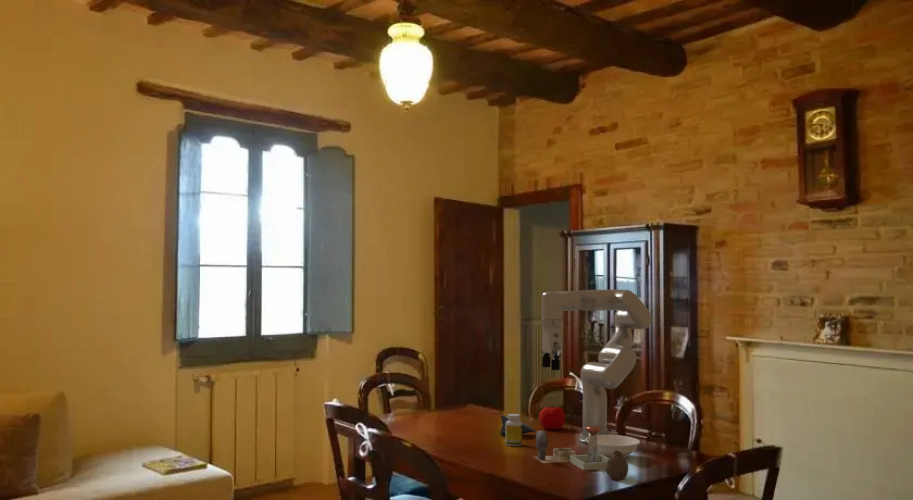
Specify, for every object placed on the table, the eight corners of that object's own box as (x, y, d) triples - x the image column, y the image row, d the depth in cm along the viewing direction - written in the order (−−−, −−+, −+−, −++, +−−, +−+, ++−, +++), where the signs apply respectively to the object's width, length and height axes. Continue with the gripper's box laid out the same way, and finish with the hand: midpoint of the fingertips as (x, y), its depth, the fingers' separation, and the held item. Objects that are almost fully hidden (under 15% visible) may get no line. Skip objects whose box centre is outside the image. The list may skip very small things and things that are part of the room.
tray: (601, 463, 275) (601, 454, 275) (616, 471, 263) (616, 462, 263) (569, 464, 272) (569, 455, 272) (583, 472, 260) (583, 463, 260)
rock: (494, 432, 328) (493, 432, 318) (501, 414, 329) (500, 413, 320) (529, 447, 325) (529, 447, 315) (536, 428, 326) (536, 427, 317)
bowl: (629, 466, 271) (629, 447, 271) (576, 458, 281) (576, 441, 282) (647, 456, 288) (647, 438, 288) (597, 449, 298) (597, 432, 298)
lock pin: (596, 464, 270) (596, 425, 271) (601, 467, 266) (602, 428, 266) (583, 464, 269) (584, 426, 270) (589, 467, 265) (589, 428, 265)
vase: (604, 480, 252) (605, 452, 252) (608, 475, 258) (608, 448, 258) (626, 482, 249) (626, 454, 249) (629, 477, 256) (629, 450, 256)
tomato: (571, 429, 337) (571, 405, 338) (549, 432, 330) (549, 408, 331) (554, 425, 347) (554, 402, 347) (532, 428, 339) (532, 404, 340)
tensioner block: (569, 457, 283) (569, 427, 283) (580, 464, 273) (580, 432, 273) (532, 459, 279) (533, 428, 280) (542, 465, 270) (542, 433, 270)
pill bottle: (520, 447, 300) (521, 416, 300) (504, 446, 301) (504, 415, 302) (522, 443, 306) (523, 413, 307) (506, 442, 308) (506, 413, 308)
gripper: (569, 325, 293) (568, 371, 293) (552, 322, 310) (551, 366, 309) (550, 325, 291) (549, 371, 291) (534, 322, 308) (533, 366, 308)
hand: (550, 368), depth 300 cm, fingers open, 9 cm apart
